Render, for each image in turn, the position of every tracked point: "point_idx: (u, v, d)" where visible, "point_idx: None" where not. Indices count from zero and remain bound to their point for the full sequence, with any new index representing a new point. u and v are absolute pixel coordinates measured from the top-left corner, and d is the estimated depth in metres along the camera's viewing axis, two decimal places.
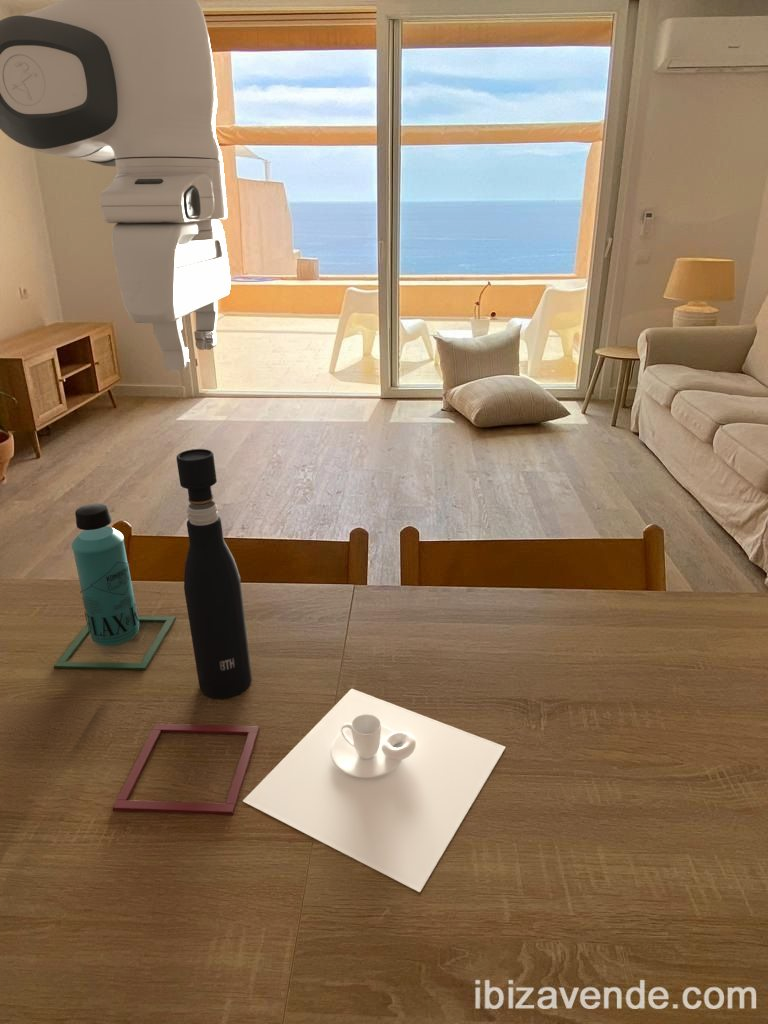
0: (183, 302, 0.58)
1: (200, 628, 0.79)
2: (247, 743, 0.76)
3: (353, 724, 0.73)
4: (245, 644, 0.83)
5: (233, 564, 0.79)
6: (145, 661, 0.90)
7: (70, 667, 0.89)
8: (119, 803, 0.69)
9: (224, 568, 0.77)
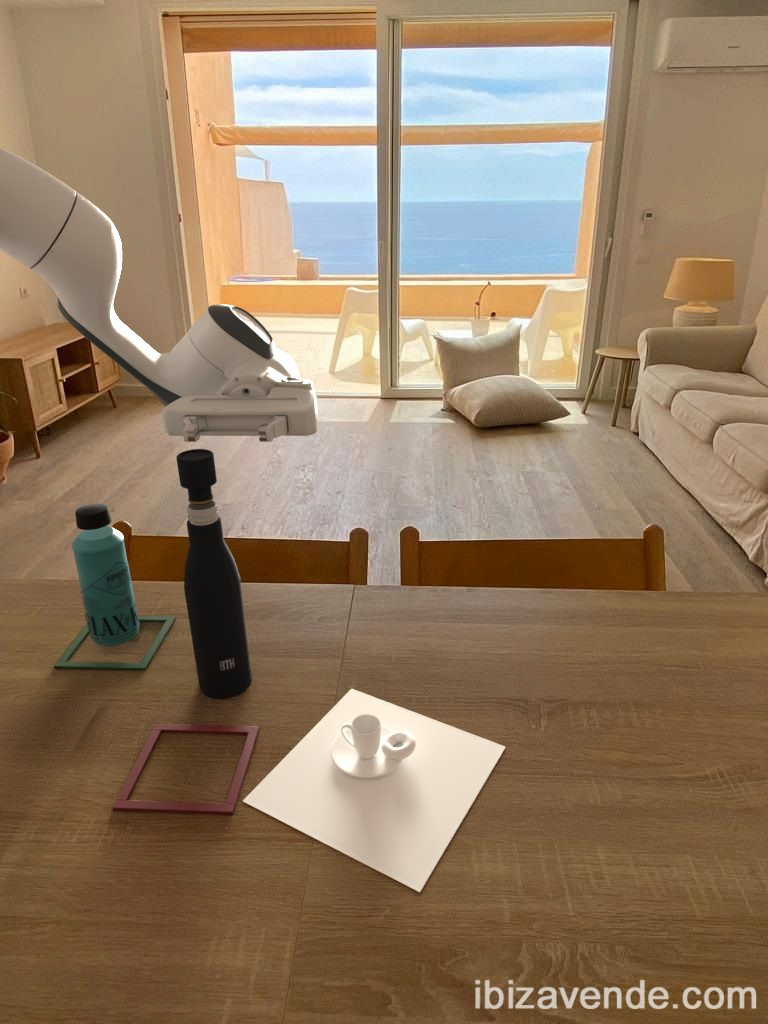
0: None
1: (200, 628, 0.79)
2: (247, 743, 0.76)
3: (353, 724, 0.73)
4: (245, 644, 0.83)
5: (233, 564, 0.79)
6: (145, 661, 0.90)
7: (70, 667, 0.89)
8: (119, 803, 0.69)
9: (224, 568, 0.77)
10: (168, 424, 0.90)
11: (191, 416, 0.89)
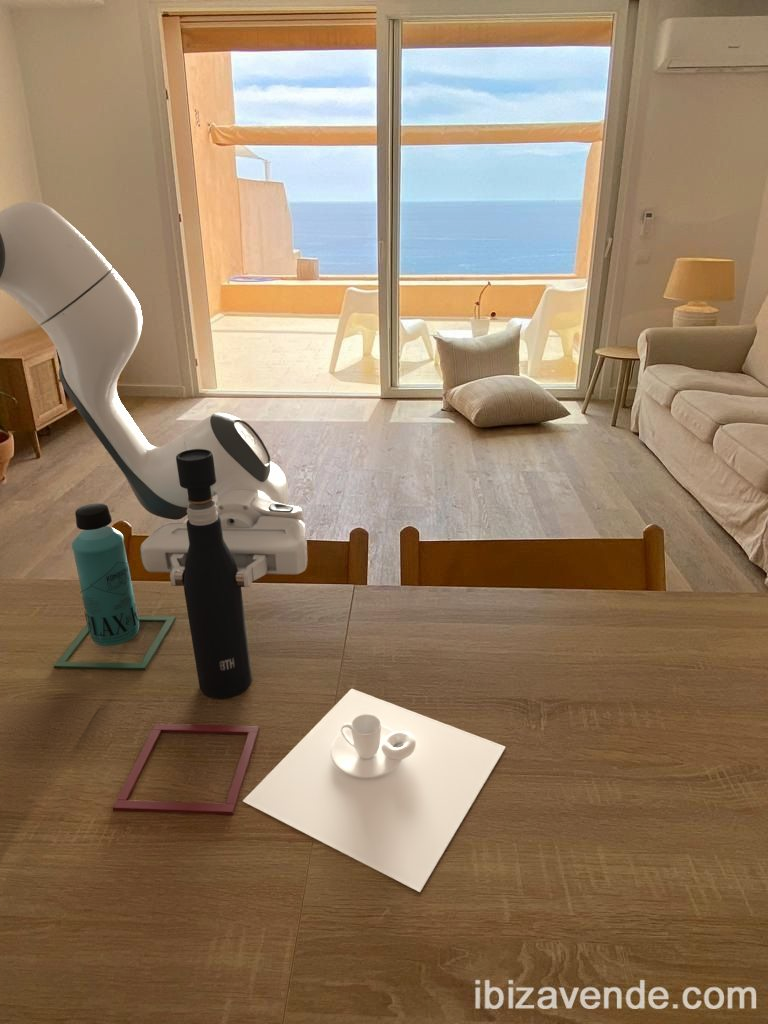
0: None
1: (200, 628, 0.79)
2: (247, 743, 0.76)
3: (353, 724, 0.73)
4: (245, 644, 0.83)
5: (233, 564, 0.79)
6: (145, 661, 0.90)
7: (70, 667, 0.89)
8: (119, 803, 0.69)
9: (223, 568, 0.77)
10: (147, 561, 0.84)
11: (179, 554, 0.83)
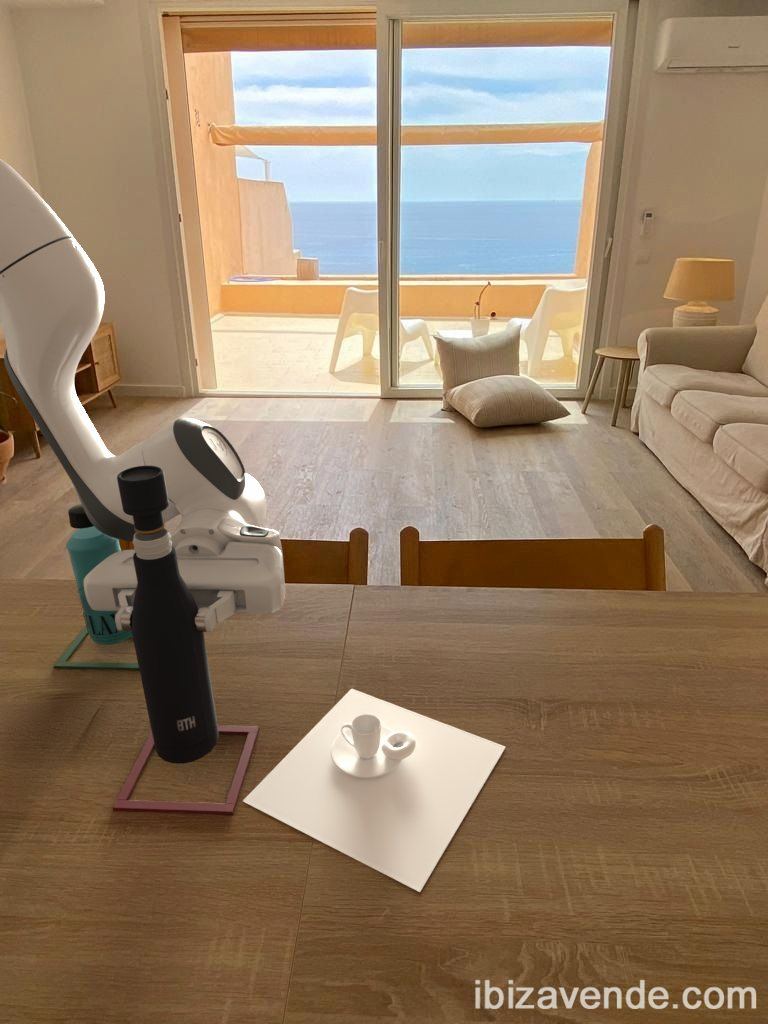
0: None
1: (152, 682, 0.65)
2: (247, 743, 0.76)
3: (353, 724, 0.73)
4: (209, 698, 0.69)
5: (192, 604, 0.65)
6: None
7: (70, 667, 0.89)
8: (119, 803, 0.69)
9: (179, 610, 0.63)
10: (92, 597, 0.70)
11: (129, 590, 0.69)
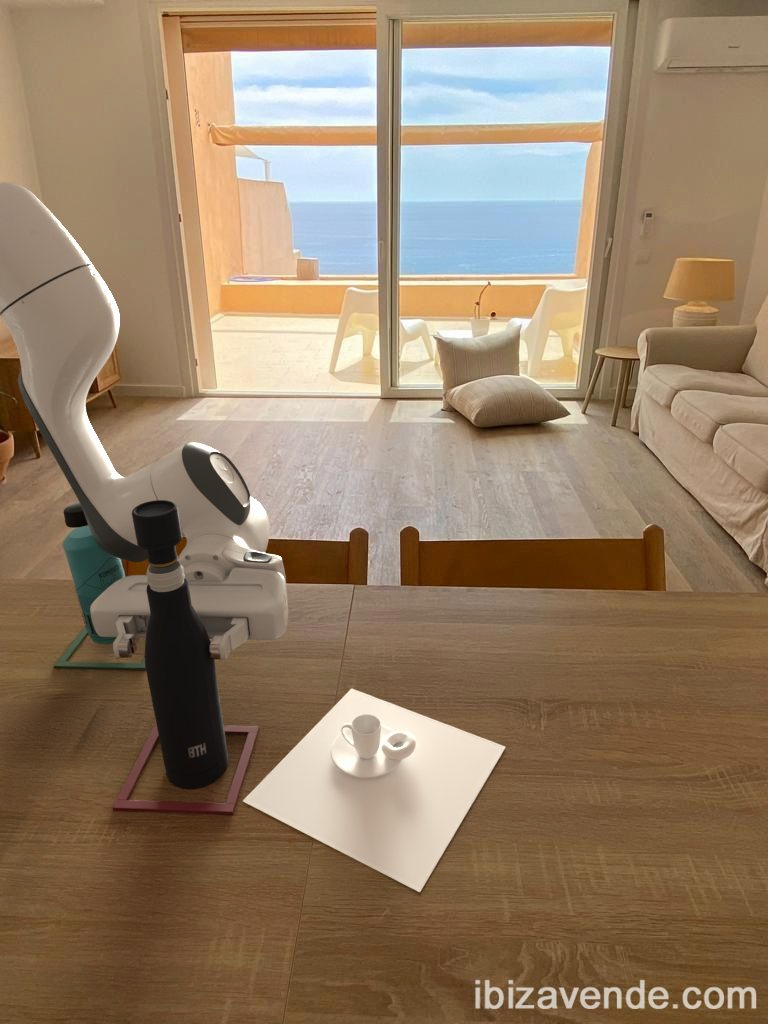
0: None
1: (164, 710, 0.67)
2: (247, 743, 0.76)
3: (353, 724, 0.73)
4: (219, 725, 0.70)
5: (203, 634, 0.66)
6: None
7: (70, 667, 0.89)
8: (119, 803, 0.69)
9: (191, 641, 0.65)
10: (98, 624, 0.71)
11: (127, 616, 0.70)
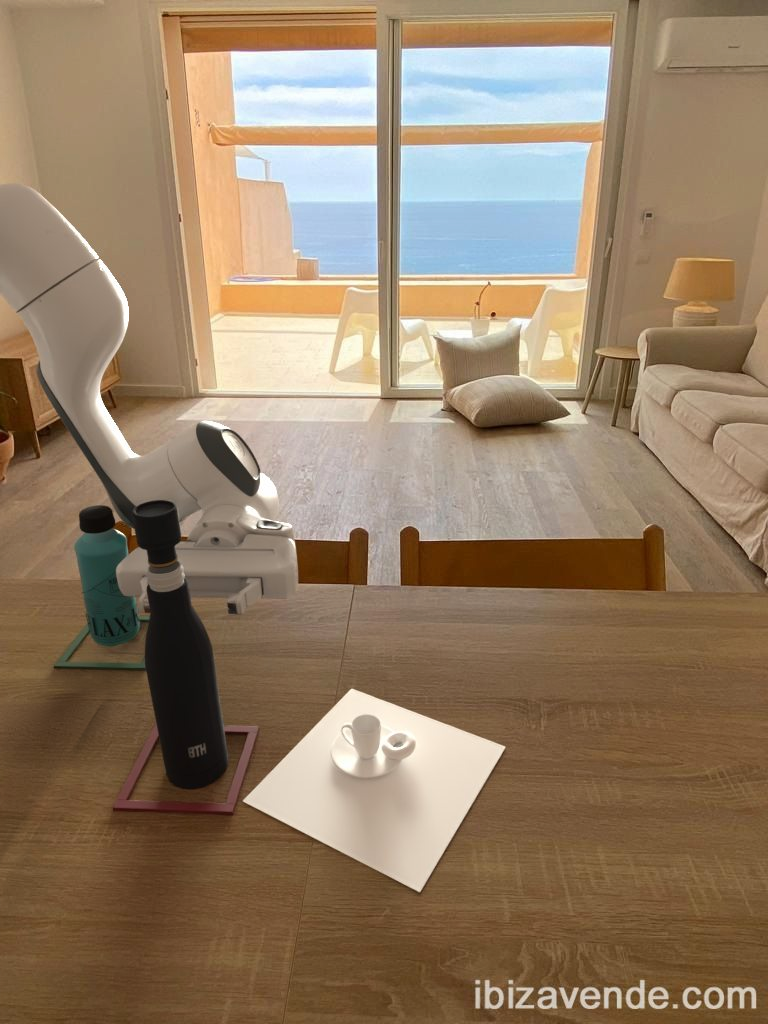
0: None
1: (164, 710, 0.67)
2: (247, 743, 0.76)
3: (353, 724, 0.73)
4: (219, 725, 0.70)
5: (203, 634, 0.66)
6: None
7: (70, 667, 0.89)
8: (119, 803, 0.69)
9: (191, 641, 0.65)
10: (124, 584, 0.77)
11: None
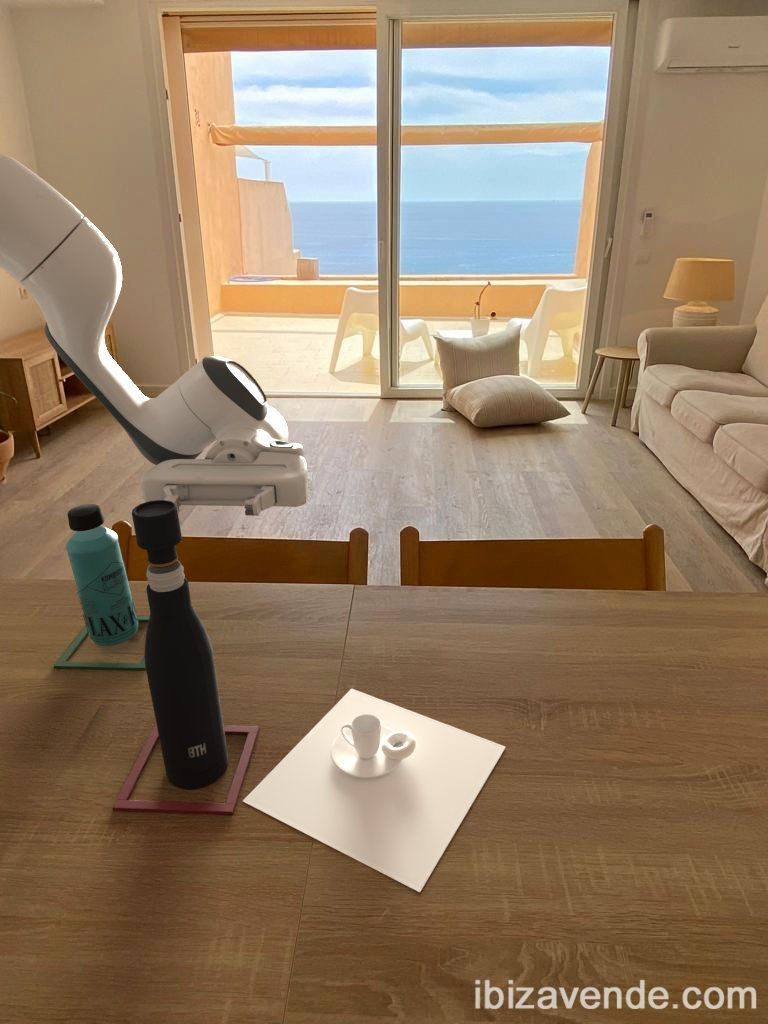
0: None
1: (164, 710, 0.67)
2: (247, 743, 0.76)
3: (353, 724, 0.73)
4: (219, 725, 0.70)
5: (203, 634, 0.66)
6: None
7: (70, 667, 0.89)
8: (119, 803, 0.69)
9: (191, 641, 0.65)
10: (148, 492, 0.84)
11: (172, 485, 0.83)
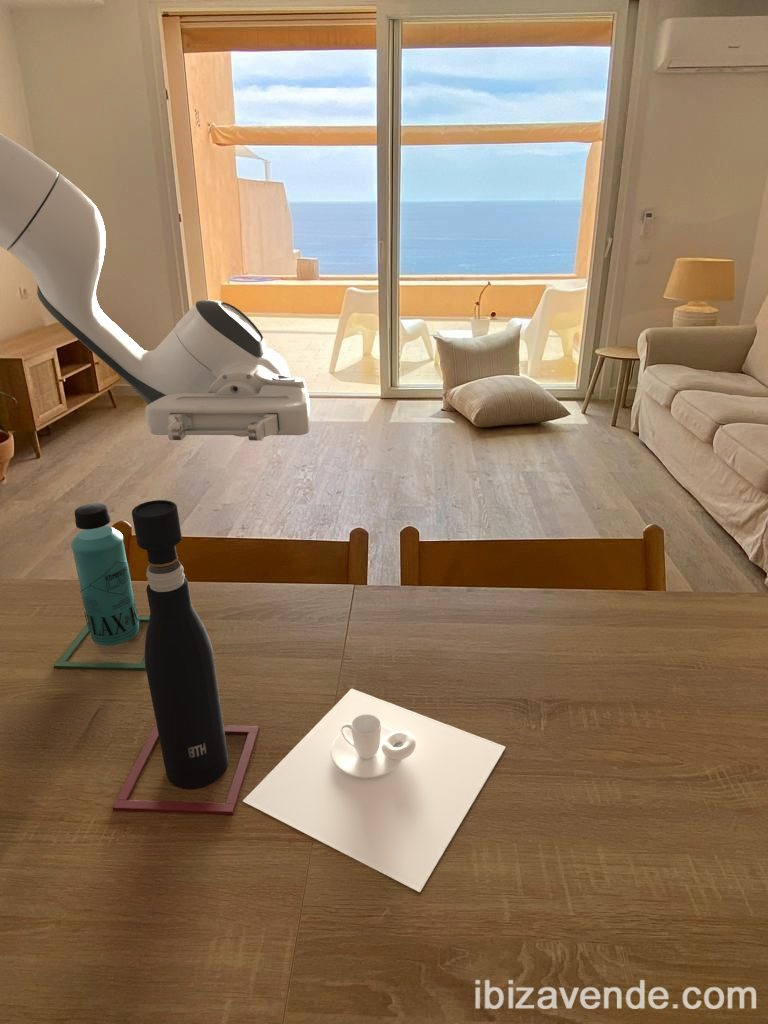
0: None
1: (164, 710, 0.67)
2: (247, 743, 0.76)
3: (353, 724, 0.73)
4: (219, 725, 0.70)
5: (203, 634, 0.66)
6: None
7: (70, 667, 0.89)
8: (119, 803, 0.69)
9: (191, 641, 0.65)
10: (152, 422, 0.85)
11: (176, 414, 0.84)
